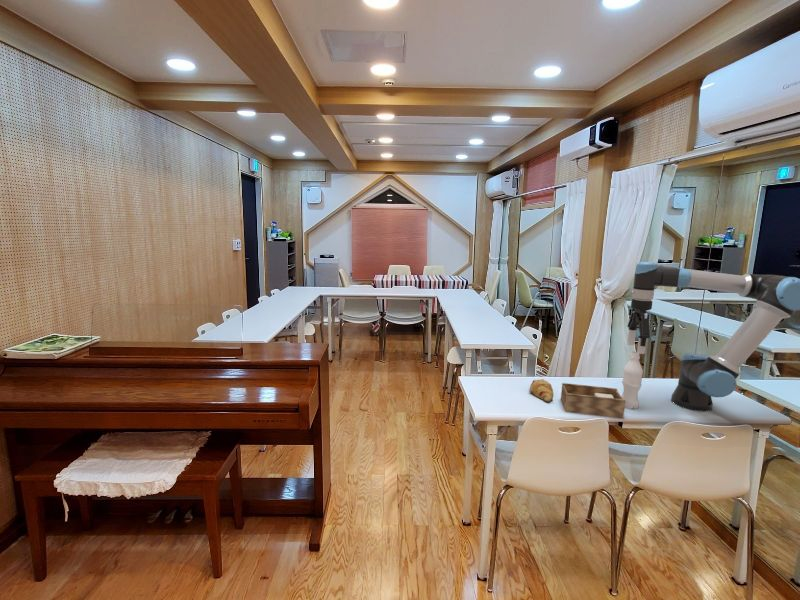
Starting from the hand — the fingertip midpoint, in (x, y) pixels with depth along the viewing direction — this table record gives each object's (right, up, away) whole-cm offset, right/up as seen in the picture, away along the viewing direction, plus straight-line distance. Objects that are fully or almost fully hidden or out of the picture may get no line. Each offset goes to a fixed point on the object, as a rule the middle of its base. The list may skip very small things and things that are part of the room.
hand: (635, 349), depth 174 cm
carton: (-14, -26, -1) cm, 29 cm away
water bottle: (-1, -26, +4) cm, 27 cm away
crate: (-19, -26, 0) cm, 32 cm away
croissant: (-34, -23, +17) cm, 45 cm away
